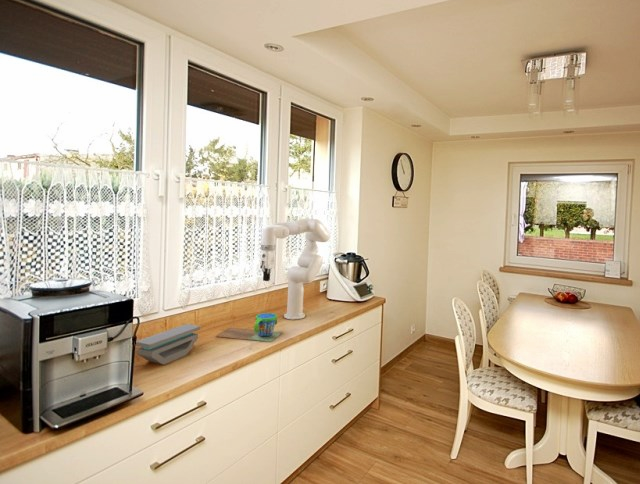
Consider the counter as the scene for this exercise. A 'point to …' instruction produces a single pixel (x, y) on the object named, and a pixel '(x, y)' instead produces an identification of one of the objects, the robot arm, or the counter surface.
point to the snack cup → (265, 324)
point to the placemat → (247, 335)
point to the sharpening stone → (168, 344)
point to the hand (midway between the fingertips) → (266, 280)
